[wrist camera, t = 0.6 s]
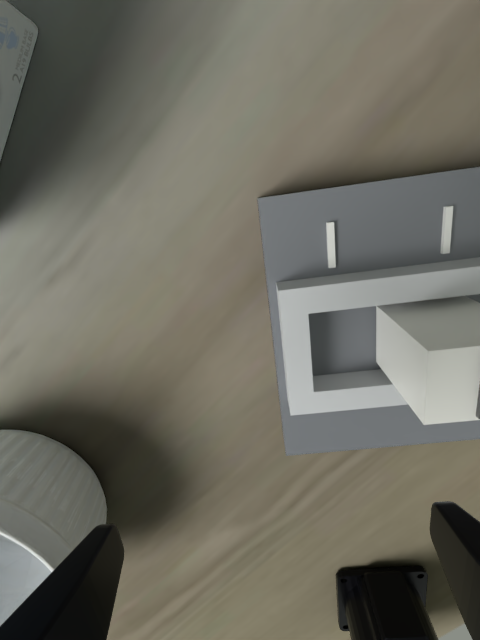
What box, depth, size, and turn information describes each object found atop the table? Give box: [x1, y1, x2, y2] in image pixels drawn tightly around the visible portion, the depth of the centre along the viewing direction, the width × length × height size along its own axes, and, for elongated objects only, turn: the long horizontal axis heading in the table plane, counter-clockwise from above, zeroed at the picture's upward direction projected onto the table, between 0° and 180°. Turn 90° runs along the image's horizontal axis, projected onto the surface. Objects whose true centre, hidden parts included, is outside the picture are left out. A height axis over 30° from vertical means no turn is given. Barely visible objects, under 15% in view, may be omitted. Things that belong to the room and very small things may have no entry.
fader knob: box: [376, 296, 480, 425], centre depth 14 cm, size 3×4×5 cm
